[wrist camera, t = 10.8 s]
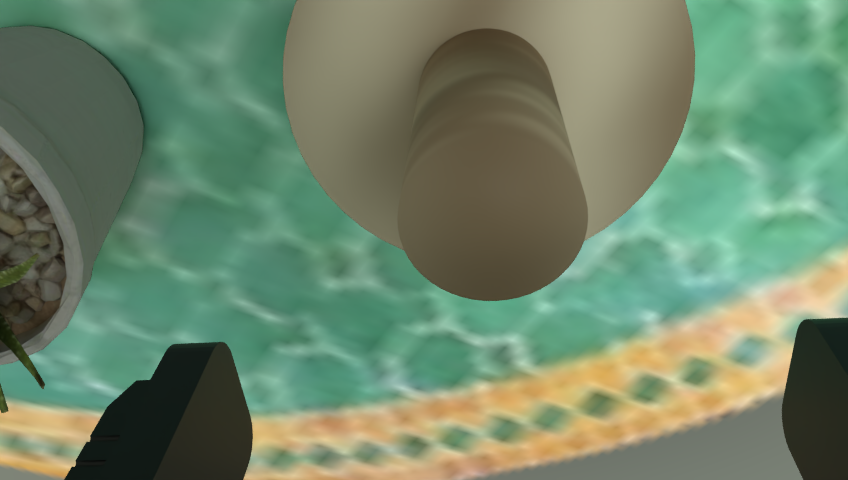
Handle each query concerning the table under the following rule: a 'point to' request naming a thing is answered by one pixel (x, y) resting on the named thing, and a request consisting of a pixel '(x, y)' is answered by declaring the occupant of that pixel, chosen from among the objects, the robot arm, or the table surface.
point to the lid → (487, 124)
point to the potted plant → (56, 179)
